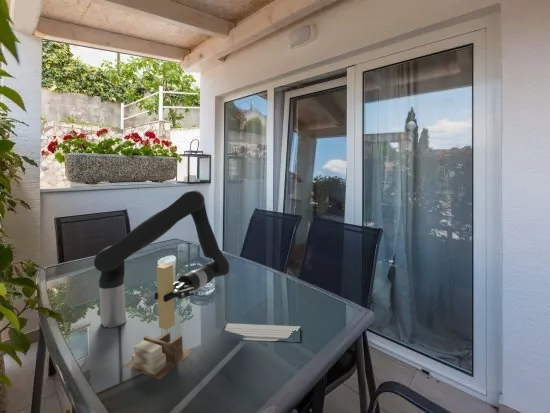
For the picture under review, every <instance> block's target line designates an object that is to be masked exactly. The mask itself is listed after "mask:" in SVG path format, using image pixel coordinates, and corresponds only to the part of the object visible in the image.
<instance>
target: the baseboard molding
mask: <svg viewBox="0 0 550 413" xmlns="http://www.w3.org/2000/svg"><path fill="white" fill-rule="evenodd" d="M300 327H301V326H300V325H297V326H296V325H292V326H291V325H275V324H274V325H273V324H254V323H253V324H252V323H249V324H248V323H228V322H226V325H225V326H224V327H223V329H224V331H227V332H229V333H233V334H237V335H242V336H244V337H243V338H242V339H241V341H248V342H249V341H250V342H252V341H253V342H271V341H277V340H279V339H286V338H288V337H289V336H290V335H291V333H293V332H292V331H295V330H296V331H298V329H299V328H300ZM224 331H222V333H221V334H220V335H221V336H222V334H223V332H224Z"/></svg>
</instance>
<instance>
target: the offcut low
mask: <svg viewBox="0 0 550 413" xmlns="http://www.w3.org/2000/svg"><path fill="white" fill-rule="evenodd" d="M130 356H131V360H132V366H133V367H135V368H138V369H141V370H143V371H146V372H149V373H151V374H154V375H155V374H156V373H157V372H159V371H160V370H161V369H162V368H164V367H165V366H166V354H163V353H162V355H161V356H159V357H158V358H157V359H155V360H154V361H150V360H148V359H145V358H142V357H139V356H136V355H135V352H134V353H132V354H131V355H130Z"/></svg>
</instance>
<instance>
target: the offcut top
mask: <svg viewBox="0 0 550 413" xmlns="http://www.w3.org/2000/svg"><path fill="white" fill-rule="evenodd" d="M133 347H134V353H135V355H136V356H139V357H142V358H145V359H148V360H150V361H154V360H155V359H157V358H158V357H159V356H161V355H162V346H160V345H157V344H154V343H151V342H148V341H145V340H144V339H143V340H142V341H140V342H139V343H138V344H136V345H134V346H133Z"/></svg>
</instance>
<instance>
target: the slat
mask: <svg viewBox="0 0 550 413" xmlns="http://www.w3.org/2000/svg"><path fill="white" fill-rule="evenodd" d="M173 282H174V265H173V264H170V263H163V264H161V265H158V266H156V283H157V284H156V286H157V289H156V291H157V292H158V299H157V310H158V311H157V312H158V327H159V329H164V330H165V331H166V330H168V329H170V328H171V327H173V326H174V325H175V324H176V321H175V318H176V317H175V316H176V314H175V299H174V298H173V299H171V300H169V301H167V302H164V301H163V296H164V295H166V294H168V293H170V292H173V291H174V283H173Z"/></svg>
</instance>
